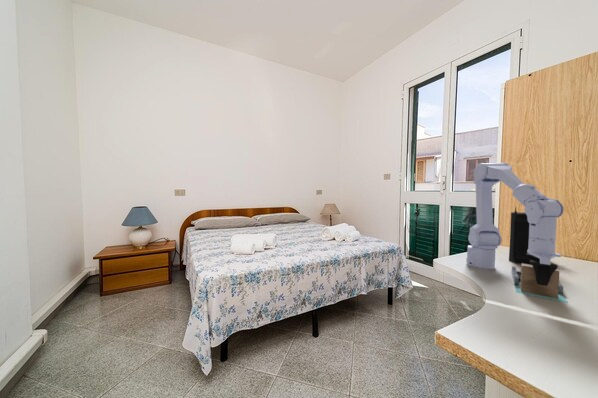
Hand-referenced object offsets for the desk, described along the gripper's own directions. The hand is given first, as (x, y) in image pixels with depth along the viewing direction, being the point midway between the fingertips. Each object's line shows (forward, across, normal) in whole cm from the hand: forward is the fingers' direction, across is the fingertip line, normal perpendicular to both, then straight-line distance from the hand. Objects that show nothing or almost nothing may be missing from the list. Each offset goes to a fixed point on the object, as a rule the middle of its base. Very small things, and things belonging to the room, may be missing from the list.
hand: (539, 280), depth 71 cm
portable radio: (+5, +36, +1) cm, 36 cm away
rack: (+5, +10, 0) cm, 12 cm away
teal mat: (+5, 0, 0) cm, 5 cm away
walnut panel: (+4, 0, 0) cm, 4 cm away
